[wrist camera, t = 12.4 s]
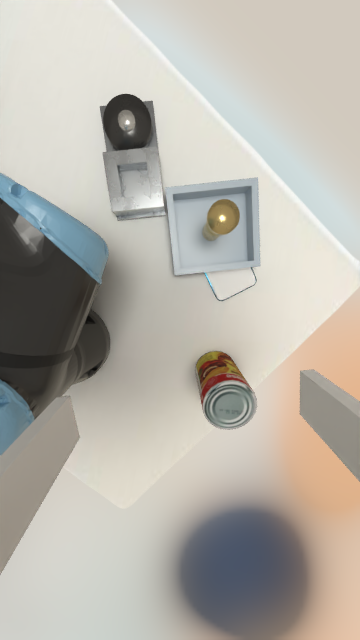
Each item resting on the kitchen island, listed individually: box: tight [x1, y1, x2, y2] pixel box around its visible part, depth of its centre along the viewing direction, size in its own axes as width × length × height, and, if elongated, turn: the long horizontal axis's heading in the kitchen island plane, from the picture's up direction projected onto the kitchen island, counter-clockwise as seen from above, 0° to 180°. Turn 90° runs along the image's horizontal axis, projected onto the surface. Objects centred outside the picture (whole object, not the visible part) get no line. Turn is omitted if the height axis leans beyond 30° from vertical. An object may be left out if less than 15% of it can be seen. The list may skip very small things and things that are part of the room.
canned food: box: [195, 351, 257, 430], centre depth 37 cm, size 8×8×12 cm
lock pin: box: [202, 199, 240, 241], centre depth 32 cm, size 4×4×10 cm
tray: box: [165, 178, 260, 275], centre depth 36 cm, size 14×13×4 cm
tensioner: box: [100, 94, 165, 221], centre depth 33 cm, size 16×8×4 cm, turn 6°
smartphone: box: [204, 267, 256, 301], centre depth 38 cm, size 8×1×16 cm
